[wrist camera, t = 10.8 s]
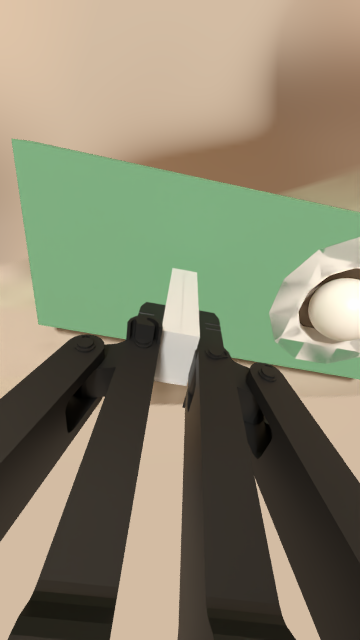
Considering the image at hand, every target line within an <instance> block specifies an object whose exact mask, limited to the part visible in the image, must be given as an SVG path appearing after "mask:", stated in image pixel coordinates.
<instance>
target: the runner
mask: <svg viewBox="0 0 360 640" xmlns="http://www.w3.org/2000/svg"><path fill="white" fill-rule="evenodd" d="M12 146H13V153H14V160H15V166H16V174H17V180H18V187H19V194H20V201H21V208H22V214H23V222H24V228H25V235H26V242H27V248H28V256H29V263H30V269H31V276H32V283H33V290H34V297H35V304H36V311H37V317H38V324H39V325H45V326H50V327H56V328H62V329H68V330H74V331H80V332H85V333H91V334H97V335H103V336H109V337H115V338H121V339H126V335H127V322H128V321H129V319H130V318H132V317H134V316H138V313H139V310H140V307H141V306H142V305H143V304H144V303H146V302H151V303H156V304H162V305H166V301H167V296H168V290H169V285H170V279H171V274H172V268H176V269H181V270H187V271H192V272H197V282H198V305H199V310H200V311H206V312H211V313H215V315H216V316H217V317H218V318H219V321H220V327H221V333H222V339H223V345H224V348H225V349H226V350H227V351H228V352H229V354H230V356H231V357H232V358H237V359H243V360H249V361H255V362H261V363H267V364H273V365H278V366H284V367H290V368H296V369H302V370H308V371H313V372H319V373H325V374H331V375H337V376H343V377H349V378H354V379H360V339H357V340H352V341H339V340H334V339H330V338H328V337H326V336H324V335H322V334H321V333H319V332H318V331H317V330H316V329H315V328H310V327H305V326H302V325H301V324H300V322H299V314H298V311H299V309H300V307H301V305H302V303H303V301H304V299H305V297H306V296H307V294H308V292H309V291H310V290H311V289H313V288H314V287H315V286H317V285H318V284H319V283H320V282H322V281H323V280H324V279H326V278H327V277H328V276H329V275H333V274H336V273H340V272H343V271H347V270H351V269H354V268H359V269H360V212H355V211H351V210H346V209H342V208H337V207H332V206H328V205H323V204H319V203H314V202H309V201H305V200H300V199H296V198H291V197H286V196H282V195H277V194H272V193H268V192H263V191H259V190H254V189H250V188H245V187H240V186H236V185H231V184H226V183H222V182H217V181H212V180H208V179H203V178H199V177H194V176H190V175H185V174H180V173H176V172H171V171H167V170H162V169H157V168H153V167H148V166H144V165H138V164H134V163H129V162H125V161H121V160H116V159H111V158H107V157H102V156H98V155H93V154H88V153H84V152H79V151H74V150H70V149H65V148H60V147H56V146H52V145H47V144H42V143H38V142H33V141H26V140H18V139H12Z"/></svg>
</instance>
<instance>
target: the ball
mask: <svg viewBox="0 0 360 640" xmlns="http://www.w3.org/2000/svg"><path fill="white" fill-rule="evenodd" d="M308 314H309V318H310V321H311V323H312V325H313V326H314V327H315V329H316V330H317V331H318V332H319V333H321V334H322V335H324V336H326V337H328V338H330V339H334V340H339V341H352V340H357V339H360V280H358V279H353V278H340V279H335V280H332V281H329V282H327V283H325V284H324V285H322V286H321V287H320V288H318V289H317V290H316V292H315V293H314V294H313V296H312V297H311V299H310V302H309V306H308Z"/></svg>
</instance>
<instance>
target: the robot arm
mask: <svg viewBox="0 0 360 640" xmlns="http://www.w3.org/2000/svg"><path fill="white" fill-rule="evenodd" d="M154 381H158V382H164V383H170V384H177V385H183V386H186V385H187V382H188V389H187V393H186V396H185V400H184V403H183V408H185V436H184V469H183V502H182V534H181V569H180V600H179V629H178V640H296V639H295V638H294V636H293V635H292V633H291V632H290V630H289V629H288V628H287V626H286V624H285V622H284V619H283V617H282V613H281V609H280V606H279V600H278V596H277V591H276V585H275V580H274V575H273V570H272V565H271V559H270V554H269V550H268V544H267V539H266V534H265V529H264V524H263V519H262V513H261V508H260V503H259V498H258V493H257V488H256V483H255V479H256V481H257V484H258V486H259V488H260V491H261V493H262V496H263V498H264V501H265V503H266V506H267V508H268V510H269V513H270V516H271V518H272V520H273V523H274V525H275V528H276V530H277V533H278V535H279V538H280V540H281V543H282V545H283V548H284V550H285V553H286V555H287V558H288V560H289V563H290V565H291V567H292V570H293V572H294V574H295V577H296V580H297V582H298V585H299V587H300V589H301V592H302V595H303V597H304V600H305V602H306V604H307V607H308V609H309V612H310V614H311V617H312V619H313V622H314V624H315V627H316V629H317V632H318V634H319V637H320V639H321V640H360V483H359V482H358V480H357V479H356V477H355V476H354V475H353V473H352V472H351V470H350V469H349V467H348V466H347V465H346V463H345V462H344V460H343V459H342V457H341V456H340V455H339V453H338V452H337V450H336V449H335V448H334V447H333V445H332V443H331V442H330V441H329V439H328V438H327V436H326V435H325V434H324V432H323V431H322V429H321V428H320V426H319V425H318V424H317V422H316V421H315V419H314V418H313V417H312V416H311V414H310V413H309V411H308V410H307V408H306V407H305V405H304V404H303V403H302V401H301V400H300V398H299V397H298V395H297V394H296V393H295V391H294V390H293V388H292V387H291V386H290V384H289V383H288V381H287V380H286V379H285V377H284V376H283V374H282V373H281V372H280V371H279V370H278V369H276V368H275V367H273V366H272V365H269V364H267V363H261V362H258V363H254V364H253V365H251V367H250V368H248V367H245V366H243V365H240V364H238V363H236V362H234V361H233V360H231V356H230V354H229V352H228V351H227V350H226V349H225V348H224V345H223V339H222V333H221V327H220V321H219V318H218V317H217V316H216V315H215V313H211V312H206V311H200V310H199V305H198V282H197V272H192V271H187V270H181V269H176V268H172V274H171V279H170V285H169V290H168V296H167V301H166V305H162V304H156V303H151V302H146V303H144V304H143V305H142V306H141V307H140V310H139V313H138V316H134V317H132V318H130V319H129V321H128V322H127V335H126V340H125V341H124V342H121V343H118V344H107V345H104V342H103V341H102V339H101V338H99V337H97V336H94V335H79V336H76V337H74V338H72V339H70V340H69V341H68V342H66V343H65V344H64V345H63V346H62V347H61V348H59V349H58V350H57V351H56V352H55V353H54V354H52V355H51V356H50V357H49V358H48V359H47V360H45V361H44V362H43V363H42V364H41V365H40V366H38V367H37V368H36V369H35V370H34V371H33V372H31V373H30V374H29V375H28V376H27V377H26V378H24V379H23V380H22V381H21V382H20V383H19V384H17V385H16V386H15V387H14V388H13V389H12V390H10V391H9V392H8V393H7V394H6V395H4V396H3V397H2V398H1V399H0V541H1V540H2V538H3V537H4V536H5V534H6V533H7V532H8V530H9V529H10V527H11V526H12V524H13V523H14V521H15V520H16V519H17V517H18V516H19V514H20V513H21V512H22V510H23V509H24V508H25V506H26V505H27V503H28V502H29V501H30V499H31V498H32V496H33V495H34V493H35V492H36V491H37V489H38V488H39V487H40V485H41V484H42V482H43V481H44V479H45V478H46V477H47V475H48V474H49V473H50V471H51V470H52V468H53V467H54V466H55V464H56V463H57V461H58V460H59V459H60V457H61V456H62V454H63V453H64V452H65V450H66V449H67V447H68V446H69V444H70V443H71V441H72V440H73V439H74V437H75V436H76V435H77V433H78V432H79V431H80V429H81V428H82V426H83V425H84V424H85V422H86V421H87V419H88V418H89V417H90V415H91V414H92V412H93V411H94V409H95V408H96V407H97V405H98V404H99V402H100V401H101V400H102V397H104V396H105V399H104V401H103V404H102V407H101V410H100V412H99V415H98V418H97V421H96V423H95V426H94V429H93V432H92V434H91V437H90V440H89V443H88V446H87V448H86V451H85V454H84V456H83V459H82V462H81V465H80V467H79V470H78V473H77V475H76V478H75V481H74V484H73V486H72V489H71V492H70V495H69V497H68V500H67V503H66V506H65V508H64V511H63V514H62V517H61V519H60V522H59V525H58V527H57V530H56V533H55V536H54V538H53V541H52V544H51V547H50V550H49V552H48V555H47V558H46V560H45V563H44V566H43V569H42V571H41V574H40V577H39V580H38V582H37V585H36V587H35V590H34V592H33V594H32V596H31V598H30V600H29V602H28V603H27V605H26V606H25V608H24V609H23V611H22V612H21V614H20V615H19V617H18V619H17V621H16V623H15V625H14V627H13V629H12V631H11V634H10V635H9V638H8V640H110V634H111V629H112V622H113V617H114V611H115V605H116V599H117V593H118V587H119V581H120V576H121V570H122V564H123V558H124V552H125V546H126V540H127V535H128V528H129V522H130V517H131V511H132V505H133V499H134V494H135V487H136V482H137V476H138V470H139V464H140V458H141V452H142V447H143V441H144V435H145V429H146V422H147V417H148V411H149V406H150V400H151V394H152V388H153V382H154ZM254 476H255V477H254Z"/></svg>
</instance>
